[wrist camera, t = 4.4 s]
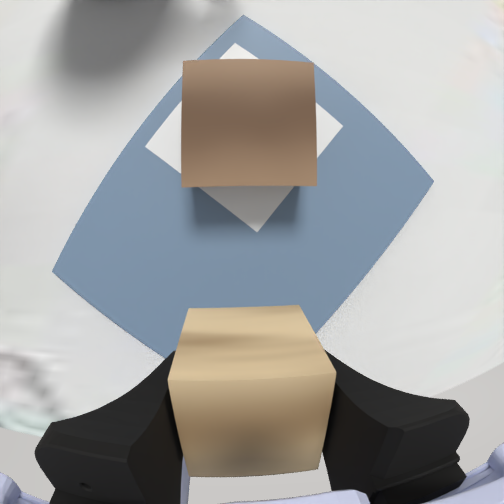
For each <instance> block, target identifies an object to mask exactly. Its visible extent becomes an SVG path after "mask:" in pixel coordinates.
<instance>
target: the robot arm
mask: <svg viewBox="0 0 504 504" xmlns="http://www.w3.org/2000/svg"><path fill="white" fill-rule="evenodd" d="M175 352H176V351H173V352H172V353H171V354H170V355H169V356H168V357H167V358H166V359H165V360H164V361H163V362H162V363H161V364H160V365H159V366H158V367H157V368H156V369H155V370H154V371H153V372H152V373H151V374H150V375H149V376H148V377H146V378H145V379H144V380H143V381H142V382H141V383H139V384H138V385H137V386H136V387H134V388H133V389H132V390H130V391H129V392H127V393H126V394H124V395H123V396H121V397H119V398H118V399H116V400H114V401H112V402H110V403H108V404H106V405H104V406H102V407H100V408H98V409H96V410H93V411H91V412H88V413H86V414H83V415H80V416H77V417H73V418H69V419H65V420H61V421H57V422H52V423H51V424H50V426H49V427H48V429H47V430H46V432H45V433H44V435H43V437H42V438H41V440H40V442H39V444H38V445H37V447H36V449H35V457H36V460H37V462H38V464H39V466H40V468H41V469H42V470H43V472H44V473H45V475H46V476H47V478H48V479H49V480H50V482H51V483H52V485H53V486H54V487H55V491H54V494H53V496H52V498H51V500H50V502H47V501H45V500H42V499H39V498H37V497H34V496H32V495H29V494H27V493H24V492H22V491H21V490H20V488H19V487H18V485H17V484H16V483H15V482H14V481H13V480H12V479H11V478H10V477H8V476H7V475H5V474H3V473H1V472H0V504H188V494H189V483H190V482H189V481H190V476H189V475H188V471H187V467H186V463H185V459H184V455H183V451H182V447H181V443H180V439H179V434H178V430H177V425H176V421H175V416H174V411H173V406H172V401H171V396H170V391H169V385H168V376H169V373H170V369H171V366H172V362H173V359H174V355H175ZM325 352H326V354H327V356H328V358H329V360H330V361H331V363H332V365H333V367H334V369H335V370H336V379H335V385H334V391H333V397H332V403H331V409H330V414H329V419H328V425H327V430H326V435H325V439H324V444H323V449H322V452H323V456H324V460H325V464H326V467H327V472H328V476H329V481H330V485H331V490H332V491H330V492H325V493H319V494H314V495H306V496H300V497H292V498H284V499H273V500H261V501H244V502H230V503H223V504H504V443H502V444H501V445H499V446H498V447H497V448H496V449H495V450H494V452H492V454H491V455H490V457H489V459H488V461H487V462H486V463H484V464H483V465H481V466H479V467H477V468H475V469H473V470H472V471H470V472H468V473H466V474H465V473H464V472H463V471H462V469H461V468H460V466H459V465H458V464H457V462H459V460H460V457H459V455H458V454H457V453H456V450H457V449H458V447H459V445H460V443H461V441H462V439H463V438H464V436H465V434H466V431H467V429H468V426H469V416H468V414H467V413H466V412H465V411H464V409H463V408H462V407H461V406H460V405H459V404H458V403H457V402H456V401H455V400H447V399H436V398H428V397H423V396H418V395H413V394H409V393H406V392H402V391H399V390H396V389H393V388H390V387H387V386H385V385H383V384H380V383H378V382H376V381H373V380H371V379H369V378H367V377H366V376H364V375H362V374H360V373H358V372H357V371H355V370H353V369H352V368H350V367H349V366H347V365H346V364H344V363H343V362H341V361H340V360H338V359H337V358H335V357H334V356H333V355H331V354H330V353H328V352H327V351H326V350H325Z"/></svg>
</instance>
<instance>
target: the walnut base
mask: <svg viewBox="0 0 504 504" xmlns="http://www.w3.org/2000/svg"><path fill="white" fill-rule="evenodd" d="M213 186H317V130H316V99H315V77H314V63H311V62H300V61H287V60H269V59H209V60H191V61H183V76H182V108H181V187H182V188H185V187H213Z"/></svg>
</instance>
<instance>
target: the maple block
mask: <svg viewBox="0 0 504 504" xmlns="http://www.w3.org/2000/svg"><path fill="white" fill-rule="evenodd" d="M335 379H336V370H335V369H334V367H333V365H332V363H331V361H330V360H329V358H328V356H327V354H326V352H325V350H324V349H323V347H322V345H321V343H320V341H319V340H318V338H317V336H316V334H315V332H314V331H313V329H312V327H311V325H310V324H309V322H308V320H307V318H306V316H305V315H304V313H303V311H302V309H301V307H300V306H299V305H286V306H263V307H231V308H189V309H188V312H187V315H186V319H185V322H184V325H183V328H182V332H181V335H180V338H179V342H178V345H177V349H176V352H175V355H174V359H173V362H172V366H171V369H170V373H169V376H168V385H169V391H170V396H171V401H172V406H173V411H174V416H175V421H176V425H177V430H178V434H179V439H180V443H181V447H182V451H183V455H184V459H185V463H186V467H187V471H188V475H189V476H190V477H246V476H263V475H275V474H285V473H294V472H302V471H309V470H316V469H318V467H319V462H320V458H321V453H322V449H323V444H324V439H325V435H326V430H327V425H328V419H329V414H330V409H331V403H332V397H333V391H334V385H335Z"/></svg>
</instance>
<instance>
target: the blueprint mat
mask: <svg viewBox="0 0 504 504" xmlns="http://www.w3.org/2000/svg"><path fill="white" fill-rule="evenodd" d="M209 59H269V60H287V61H300V62H311V61H310V60H309V59H308V58H306V57H305V56H304V55H302V54H301V53H300V52H298V51H297V50H296V49H294V48H293V47H291V46H290V45H289V44H287V43H286V42H284V41H283V40H282V39H280V38H279V37H277V36H276V35H274V34H273V33H271V32H270V31H268V30H267V29H265V28H264V27H262V26H261V25H259V24H257V23H256V22H254V21H253V20H251V19H249V18H248V17H246V16H245V15H243V16H241V17H240V18H239V19H238V20H237V21H236V22H235V23H234V24H233V25H232V26H230V27H229V28H228V29H227V30H226V31H225V32H224V33H223V34H222V35H221V36H220V37H219V38H218V39H217V40H216V41H215V42H214V43H213V44H212V45H211V46H210V47H209V48H208V49H207V50H206V51H205V52H204V53H203V54H202V55H201V56H200V57H199V58H198V59H197V60H209ZM311 63H313V62H311ZM182 76H183V75H182ZM314 77H315V99H316V130H317V186H213V187H185V188H182V187H181V108H182V77H181V78H180V79H179V80H178V81H177V82H176V83H175V84H174V86H173V87H172V88H171V89H170V90H169V91H168V93H167V94H166V95H165V96H164V97H163V99H162V100H161V101H160V102H159V103H158V105H157V106H156V107H155V108H154V110H153V111H152V112H151V113H150V115H149V116H148V117H147V119H146V120H145V121H144V122H143V124H142V125H141V126H140V128H139V129H138V130H137V132H136V133H135V134H134V136H133V137H132V138H131V140H130V141H129V142H128V144H127V145H126V147H125V148H124V149H123V151H122V152H121V154H120V155H119V157H118V158H117V160H116V161H115V162H114V164H113V165H112V167H111V168H110V170H109V171H108V173H107V174H106V176H105V178H104V179H103V181H102V182H101V184H100V185H99V187H98V189H97V190H96V192H95V193H94V195H93V197H92V198H91V200H90V202H89V203H88V205H87V207H86V208H85V210H84V212H83V213H82V215H81V217H80V219H79V220H78V222H77V224H76V226H75V228H74V229H73V231H72V233H71V235H70V237H69V239H68V241H67V243H66V244H65V246H64V248H63V250H62V252H61V254H60V256H59V258H58V260H57V262H56V264H55V266H54V268H53V271H52V272H53V273H54V274H55V275H57V276H58V277H59V278H60V279H61V280H62V281H63V282H65V283H66V284H67V285H68V286H69V287H70V288H72V289H73V290H74V291H75V292H76V293H78V294H79V295H80V296H81V297H82V298H84V299H85V300H86V301H87V302H89V303H90V304H91V305H92V306H94V307H95V308H96V309H97V310H99V311H100V312H101V313H103V314H104V315H105V316H106V317H108V318H109V319H110V320H112V321H113V322H114V323H116V324H117V325H118V326H120V327H121V328H122V329H124V330H125V331H127V332H128V333H129V334H131V335H132V336H134V337H135V338H136V339H138V340H139V341H141V342H142V343H144V344H145V345H146V346H148V347H149V348H151V349H152V350H154V351H155V352H157V353H158V354H160V355H161V356H163V357H164V358H167V357H168V356H169V355H170V354H171V353H172V352H173V351H176V349H177V345H178V342H179V338H180V335H181V332H182V328H183V325H184V322H185V319H186V315H187V312H188V309H189V308H231V307H263V306H286V305H299V306H300V307H301V309H302V311H303V313H304V315H305V316H306V318H307V320H308V322H309V324H310V325H311V327H312V329H313V331H314V332H315V334H316V333H317V332H318V331H319V329H320V328H321V327H322V326H323V325H324V324H325V323H326V322H327V320H328V319H329V318H330V317H331V316H332V315H333V314H334V312H335V311H336V310H337V309H338V308H339V307H340V305H341V304H342V303H343V302H344V301H345V300H346V298H347V297H348V296H349V295H350V294H351V292H352V291H353V290H354V289H355V288H356V286H357V285H358V284H359V283H360V282H361V280H362V279H363V278H364V277H365V275H366V274H367V273H368V272H369V270H370V269H371V268H372V267H373V265H374V264H375V263H376V261H377V260H378V259H379V258H380V256H381V255H382V254H383V252H384V251H385V250H386V249H387V247H388V246H389V245H390V243H391V242H392V241H393V239H394V238H395V237H396V235H397V234H398V232H399V231H400V230H401V228H402V227H403V226H404V224H405V223H406V221H407V220H408V219H409V217H410V216H411V214H412V213H413V212H414V210H415V209H416V207H417V206H418V204H419V203H420V202H421V200H422V199H423V197H424V196H425V194H426V193H427V191H428V190H429V188H430V187H431V185H432V184H433V182H434V181H433V179H432V178H431V177H430V176H429V175H428V173H427V172H426V171H425V170H424V169H423V167H422V166H421V165H420V164H419V163H418V162H417V160H416V159H415V158H414V157H413V156H412V155H411V154H410V153H409V151H408V150H407V149H406V148H405V147H404V146H403V145H402V144H401V143H400V142H399V141H398V140H397V139H396V137H395V136H394V135H393V134H392V133H391V132H390V131H389V130H388V129H387V128H386V127H385V126H384V125H383V124H382V123H381V122H380V121H379V120H378V119H377V118H376V117H375V116H374V115H373V114H372V113H371V112H370V111H369V110H367V109H366V108H365V107H364V106H363V105H362V104H361V103H360V102H359V101H358V100H357V99H356V98H354V97H353V96H352V95H351V94H350V93H349V92H348V91H347V90H345V89H344V88H343V87H342V86H341V85H340V84H339V83H337V82H336V81H335V80H334V79H333V78H331V77H330V76H329V75H328V74H327V73H325V72H324V71H323V70H322V69H320V68H319V67H318V66H317V65H315V64H314Z"/></svg>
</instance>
